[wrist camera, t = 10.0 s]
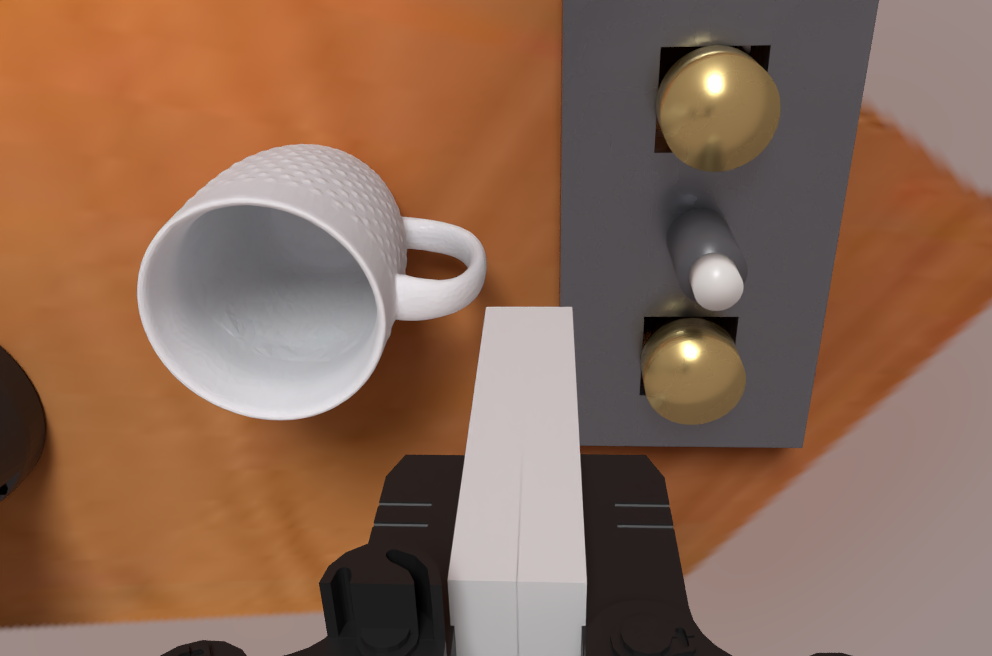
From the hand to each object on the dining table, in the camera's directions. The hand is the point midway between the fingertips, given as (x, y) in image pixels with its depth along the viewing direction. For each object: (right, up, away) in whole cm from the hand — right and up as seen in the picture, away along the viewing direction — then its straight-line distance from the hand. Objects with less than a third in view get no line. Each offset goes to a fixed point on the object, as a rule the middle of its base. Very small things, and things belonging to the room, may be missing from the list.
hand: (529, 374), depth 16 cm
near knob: (+10, +13, +29) cm, 33 cm away
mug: (-9, +7, +34) cm, 36 cm away
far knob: (+10, +1, +36) cm, 37 cm away
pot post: (+10, +5, +29) cm, 31 cm away
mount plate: (+10, +7, +32) cm, 35 cm away
